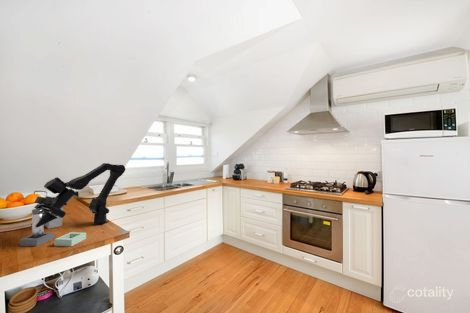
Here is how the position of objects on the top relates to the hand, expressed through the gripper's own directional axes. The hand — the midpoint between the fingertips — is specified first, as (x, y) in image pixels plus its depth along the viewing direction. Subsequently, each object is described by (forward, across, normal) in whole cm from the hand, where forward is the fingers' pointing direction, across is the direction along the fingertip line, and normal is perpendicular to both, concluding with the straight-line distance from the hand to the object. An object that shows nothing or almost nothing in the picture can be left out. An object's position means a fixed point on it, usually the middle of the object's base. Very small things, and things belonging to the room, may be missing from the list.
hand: (34, 226), depth 94 cm
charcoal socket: (+5, 0, +7) cm, 8 cm away
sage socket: (0, +14, +12) cm, 19 cm away
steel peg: (+5, 0, +7) cm, 8 cm away
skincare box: (-5, -20, +17) cm, 27 cm away
